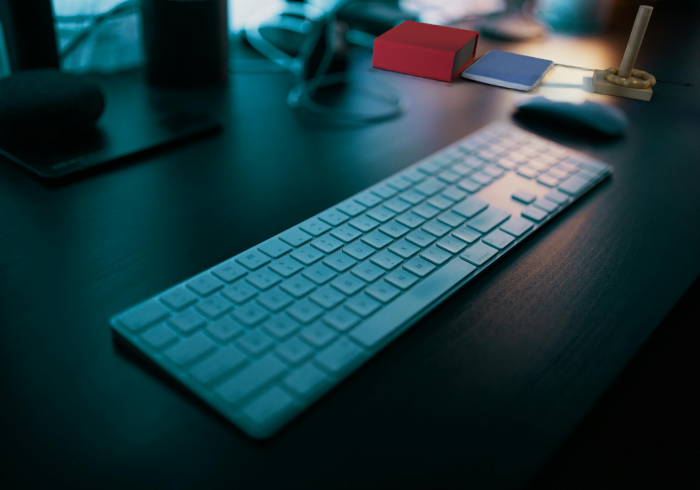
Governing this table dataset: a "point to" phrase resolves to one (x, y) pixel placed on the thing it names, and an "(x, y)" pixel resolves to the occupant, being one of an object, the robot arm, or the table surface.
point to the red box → (425, 50)
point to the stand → (627, 63)
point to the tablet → (509, 70)
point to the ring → (626, 82)
